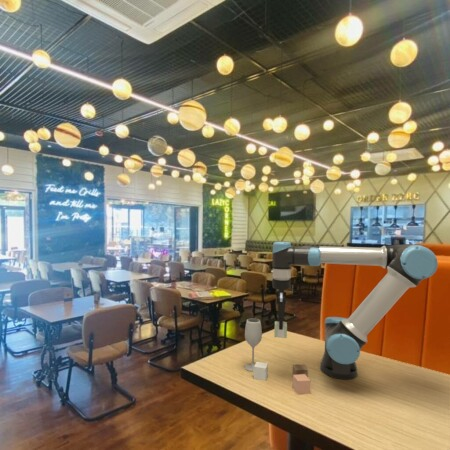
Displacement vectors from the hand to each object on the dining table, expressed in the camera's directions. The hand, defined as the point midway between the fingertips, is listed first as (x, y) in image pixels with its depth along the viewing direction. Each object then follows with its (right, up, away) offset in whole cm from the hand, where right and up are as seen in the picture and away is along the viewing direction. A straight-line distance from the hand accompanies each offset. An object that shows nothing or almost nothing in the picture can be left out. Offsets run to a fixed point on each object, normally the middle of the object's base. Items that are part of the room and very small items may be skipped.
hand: (280, 334), depth 127 cm
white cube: (-8, -18, 0) cm, 20 cm away
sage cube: (0, 0, 0) cm, 0 cm away
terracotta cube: (+6, -18, -11) cm, 21 cm away
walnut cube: (+8, -18, -2) cm, 20 cm away
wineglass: (-11, -18, +8) cm, 22 cm away
